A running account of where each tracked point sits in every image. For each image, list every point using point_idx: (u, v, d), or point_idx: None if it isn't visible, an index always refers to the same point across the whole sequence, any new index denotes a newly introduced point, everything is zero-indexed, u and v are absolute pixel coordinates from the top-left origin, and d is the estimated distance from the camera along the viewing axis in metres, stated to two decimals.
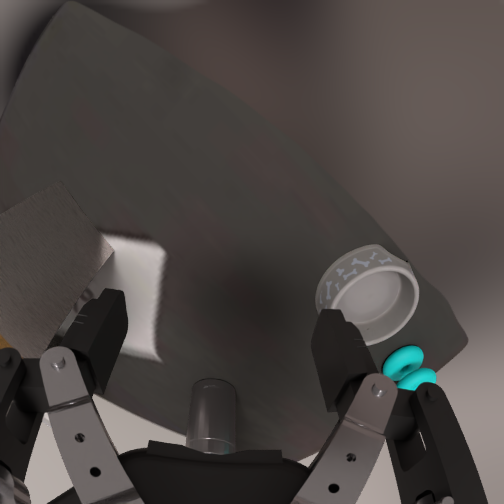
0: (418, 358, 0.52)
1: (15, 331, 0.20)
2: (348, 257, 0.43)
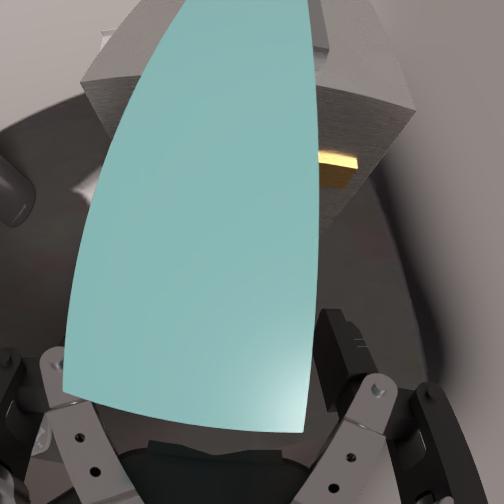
0: None
1: None
2: (47, 426, 0.31)
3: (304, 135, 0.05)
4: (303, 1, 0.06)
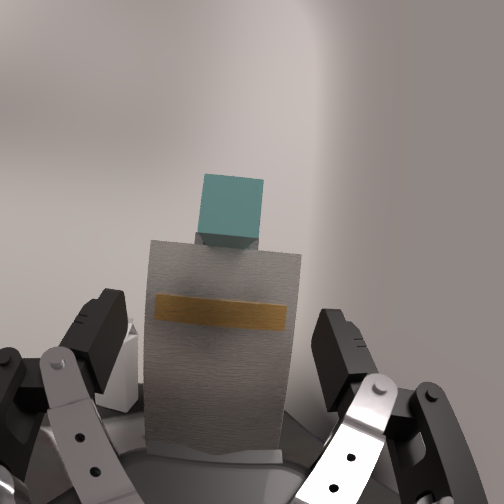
0: None
1: (180, 340, 0.26)
2: None
3: None
4: None
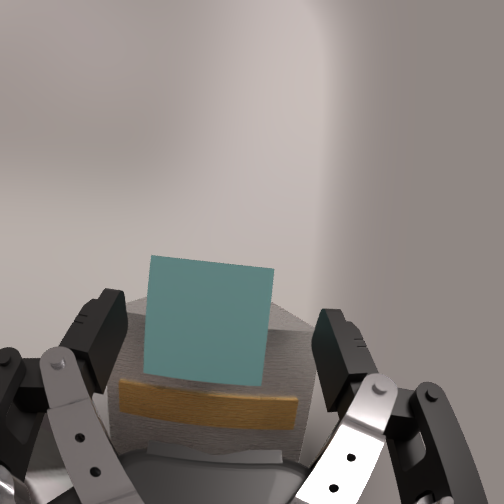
0: None
1: (155, 436, 0.17)
2: None
3: None
4: None
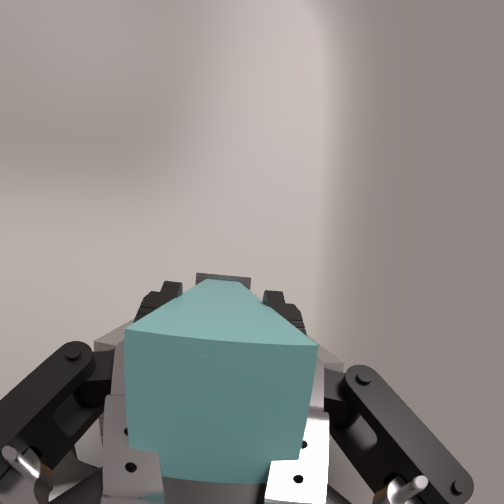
0: None
1: None
2: None
3: (268, 310, 0.10)
4: (254, 295, 0.15)
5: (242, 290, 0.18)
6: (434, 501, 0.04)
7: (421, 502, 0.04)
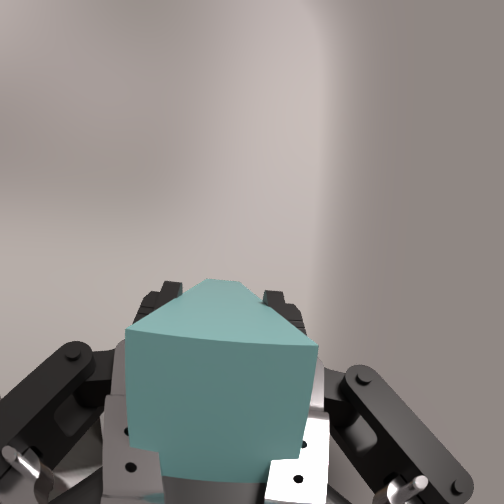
0: None
1: None
2: None
3: (268, 311, 0.10)
4: (254, 295, 0.15)
5: (242, 290, 0.19)
6: (434, 501, 0.04)
7: (421, 502, 0.04)
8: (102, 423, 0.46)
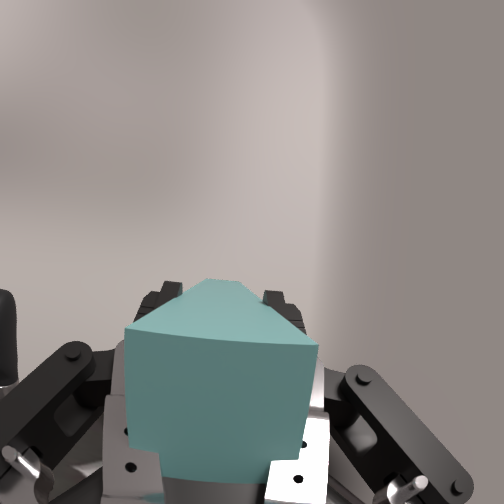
0: None
1: None
2: None
3: (268, 310, 0.10)
4: (254, 295, 0.15)
5: (242, 290, 0.18)
6: (434, 501, 0.04)
7: (421, 502, 0.04)
8: None
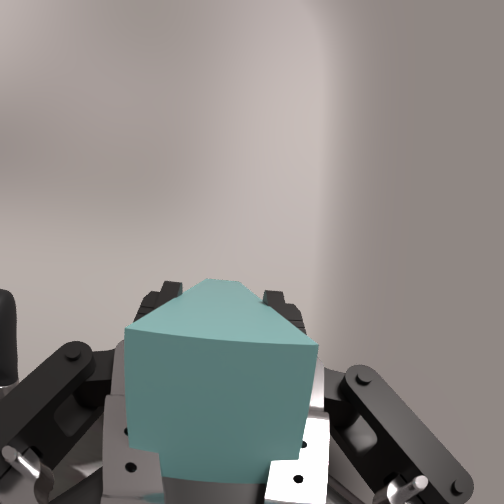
0: None
1: None
2: None
3: (268, 310, 0.10)
4: (254, 295, 0.15)
5: (242, 290, 0.18)
6: (434, 501, 0.04)
7: (421, 502, 0.04)
8: None
